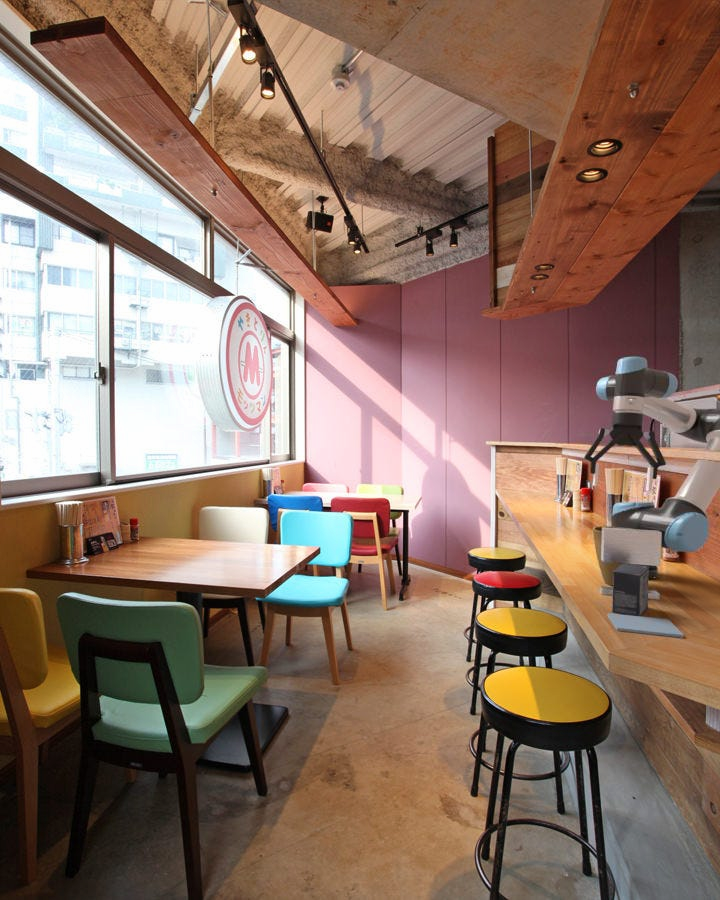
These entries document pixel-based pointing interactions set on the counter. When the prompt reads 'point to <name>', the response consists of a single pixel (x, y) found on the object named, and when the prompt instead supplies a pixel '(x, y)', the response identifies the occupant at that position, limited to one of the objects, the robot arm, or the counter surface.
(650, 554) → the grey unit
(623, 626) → the mat
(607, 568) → the plant pot
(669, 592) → the counter surface
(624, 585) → the small box
